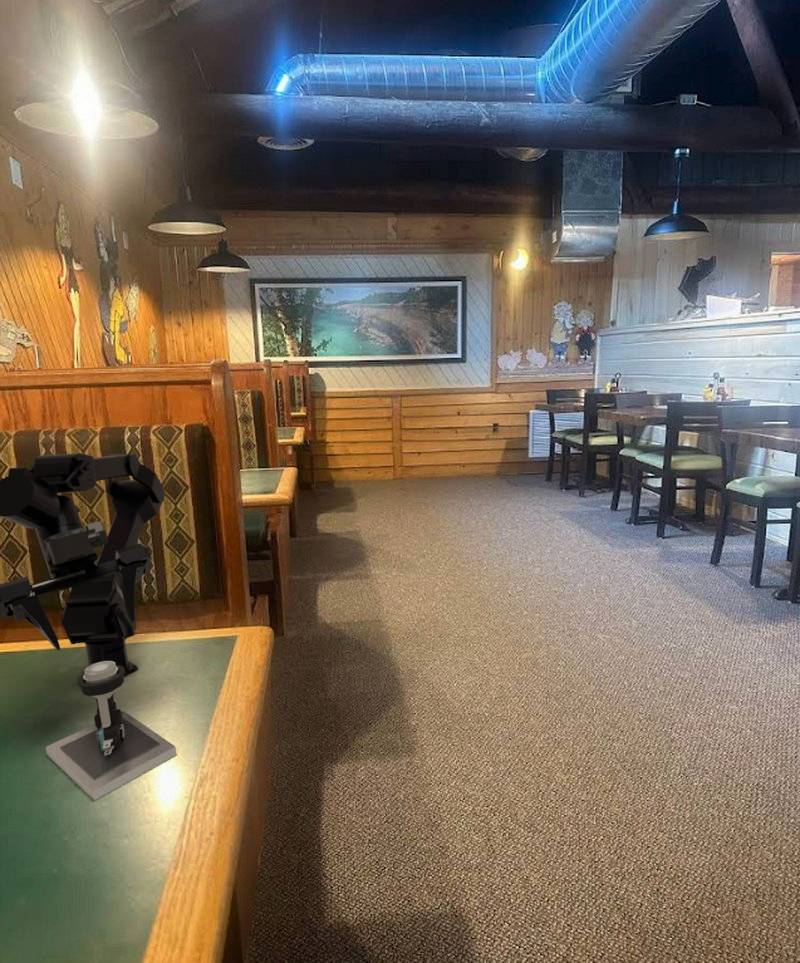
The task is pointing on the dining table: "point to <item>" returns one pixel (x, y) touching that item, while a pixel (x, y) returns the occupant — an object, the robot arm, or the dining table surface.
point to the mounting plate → (110, 757)
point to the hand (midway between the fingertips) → (97, 635)
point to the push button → (105, 701)
